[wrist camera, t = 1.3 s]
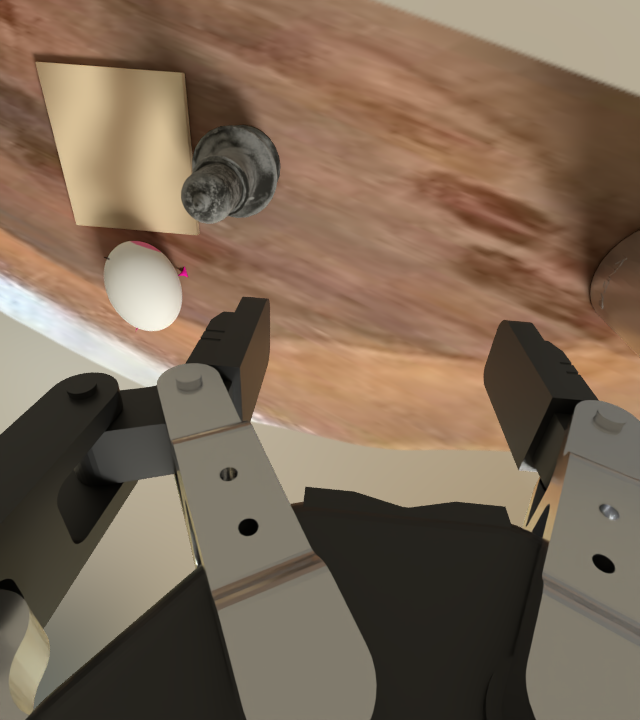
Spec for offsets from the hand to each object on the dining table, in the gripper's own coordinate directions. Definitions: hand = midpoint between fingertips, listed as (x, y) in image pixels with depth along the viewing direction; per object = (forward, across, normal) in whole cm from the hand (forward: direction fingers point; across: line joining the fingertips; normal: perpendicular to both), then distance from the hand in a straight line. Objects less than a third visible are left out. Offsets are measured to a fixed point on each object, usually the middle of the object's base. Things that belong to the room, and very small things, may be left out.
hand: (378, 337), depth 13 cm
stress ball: (+24, +18, +10) cm, 31 cm away
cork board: (+24, +18, 0) cm, 30 cm away
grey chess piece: (+24, +9, 0) cm, 25 cm away
